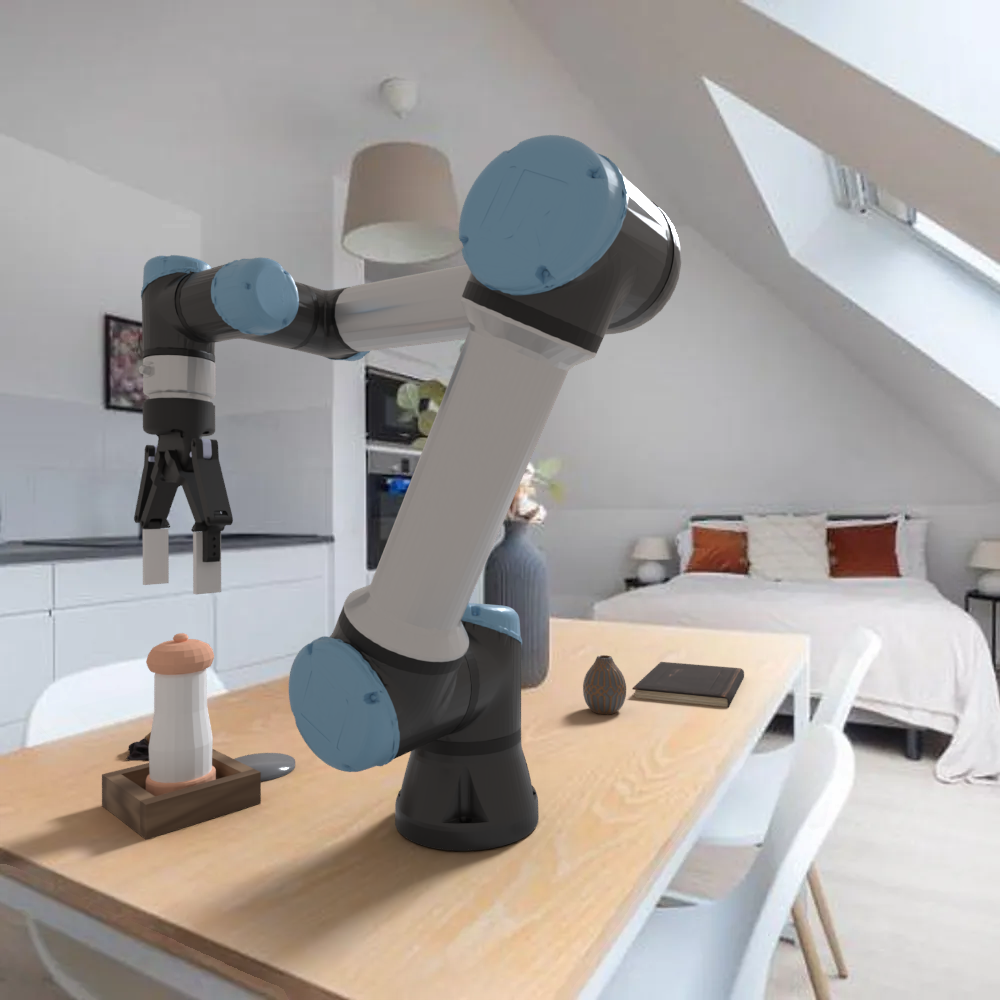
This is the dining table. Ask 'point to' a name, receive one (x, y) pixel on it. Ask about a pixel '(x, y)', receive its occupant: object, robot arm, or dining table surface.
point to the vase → (604, 686)
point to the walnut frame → (179, 797)
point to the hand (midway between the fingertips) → (180, 588)
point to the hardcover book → (690, 684)
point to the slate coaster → (269, 764)
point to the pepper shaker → (180, 716)
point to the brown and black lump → (139, 750)
